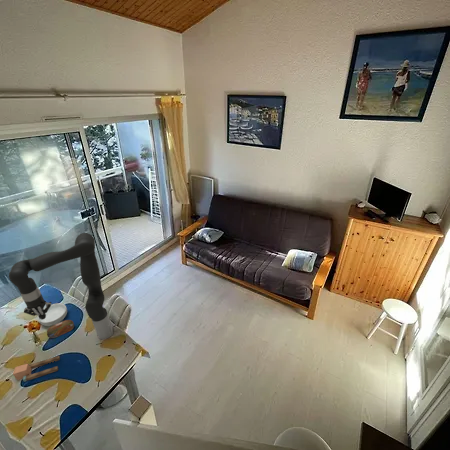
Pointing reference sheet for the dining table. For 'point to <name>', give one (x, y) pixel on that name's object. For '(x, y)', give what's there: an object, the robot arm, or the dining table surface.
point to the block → (22, 371)
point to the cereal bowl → (54, 314)
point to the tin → (60, 328)
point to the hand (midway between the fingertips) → (43, 318)
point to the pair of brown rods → (42, 371)
